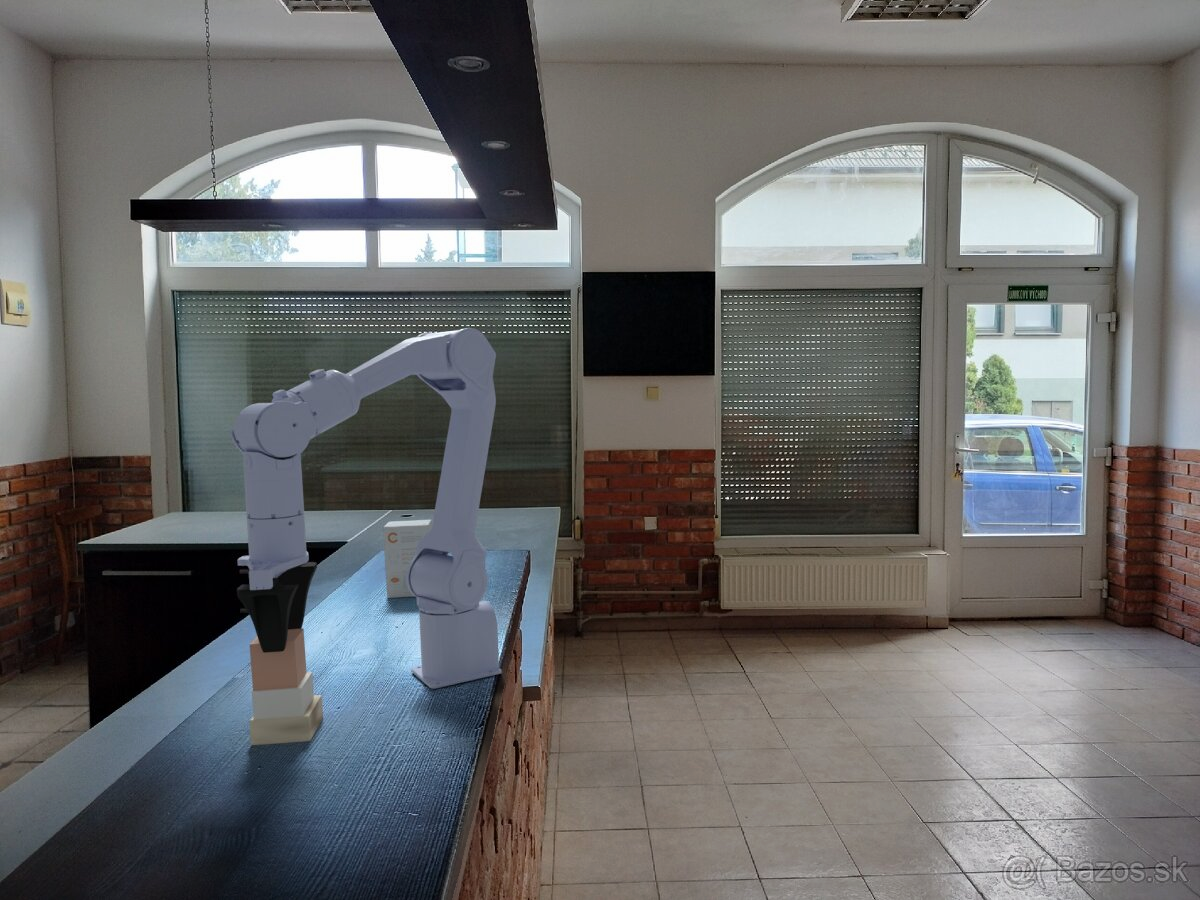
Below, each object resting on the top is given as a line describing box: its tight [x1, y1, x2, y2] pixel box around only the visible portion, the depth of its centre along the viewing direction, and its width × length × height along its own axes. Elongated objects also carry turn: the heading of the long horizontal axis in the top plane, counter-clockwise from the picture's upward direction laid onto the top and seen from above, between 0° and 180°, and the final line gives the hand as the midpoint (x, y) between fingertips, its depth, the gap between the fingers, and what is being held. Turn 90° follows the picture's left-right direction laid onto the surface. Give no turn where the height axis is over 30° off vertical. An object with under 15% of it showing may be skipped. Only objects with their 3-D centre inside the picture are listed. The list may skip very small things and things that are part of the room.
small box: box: [382, 519, 433, 599], centre depth 147 cm, size 8×6×13 cm
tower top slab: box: [251, 671, 315, 720], centre depth 87 cm, size 5×5×3 cm
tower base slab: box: [249, 694, 324, 746], centre depth 88 cm, size 6×6×3 cm
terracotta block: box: [249, 627, 308, 691], centre depth 87 cm, size 4×4×5 cm
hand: (283, 639), depth 87 cm, fingers open, 7 cm apart
